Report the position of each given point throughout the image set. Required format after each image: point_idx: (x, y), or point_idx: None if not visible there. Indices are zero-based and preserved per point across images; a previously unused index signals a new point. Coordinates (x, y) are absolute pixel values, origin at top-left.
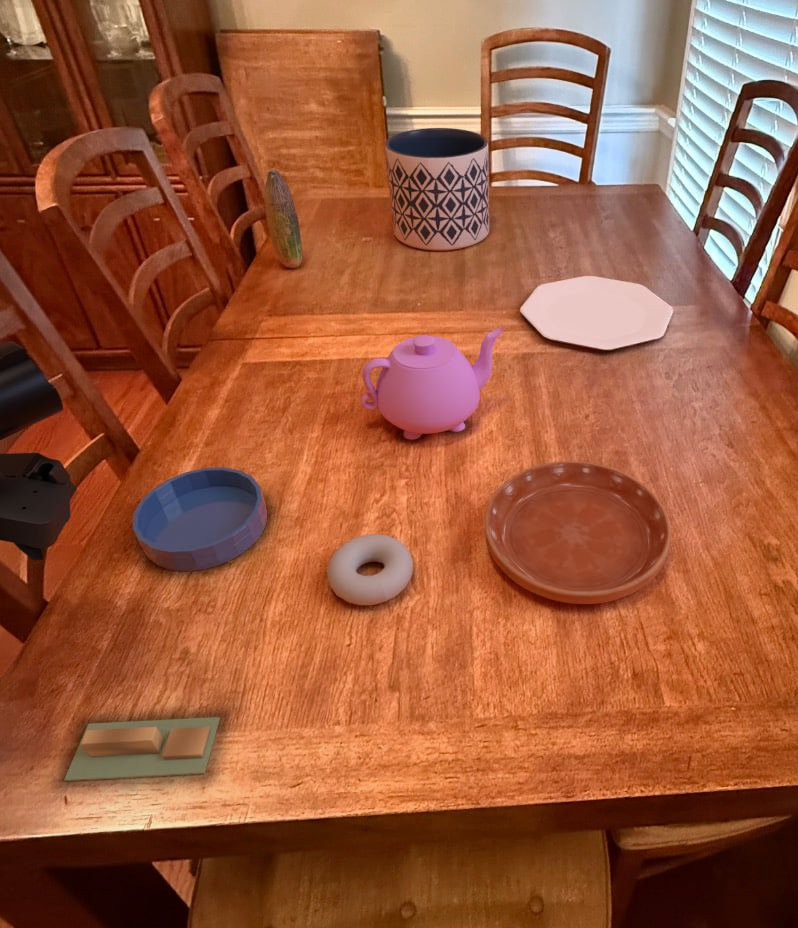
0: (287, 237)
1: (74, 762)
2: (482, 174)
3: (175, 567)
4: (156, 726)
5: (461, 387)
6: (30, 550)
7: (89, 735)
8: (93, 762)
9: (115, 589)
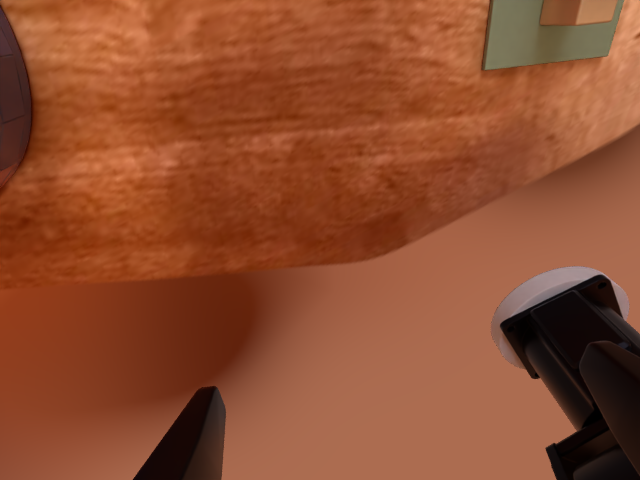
0: None
1: (572, 53)
2: None
3: (13, 59)
4: None
5: None
6: (210, 459)
7: (594, 8)
8: None
9: (136, 189)
